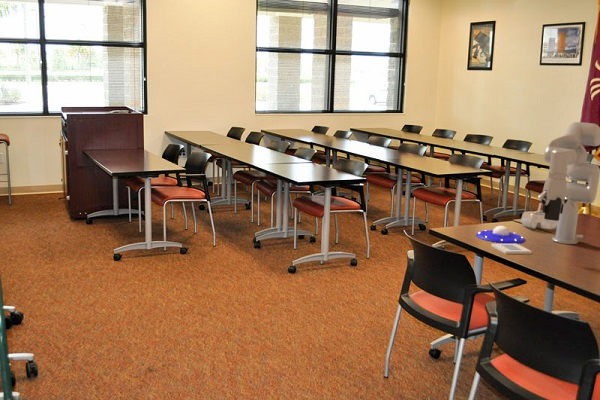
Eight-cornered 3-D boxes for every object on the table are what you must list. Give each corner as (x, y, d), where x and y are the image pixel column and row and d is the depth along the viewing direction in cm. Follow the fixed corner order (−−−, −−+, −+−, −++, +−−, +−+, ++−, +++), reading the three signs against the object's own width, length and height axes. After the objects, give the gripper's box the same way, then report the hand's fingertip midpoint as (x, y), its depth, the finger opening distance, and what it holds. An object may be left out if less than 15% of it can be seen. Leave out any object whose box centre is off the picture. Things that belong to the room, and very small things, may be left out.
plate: (516, 245, 329) (516, 243, 329) (531, 253, 316) (531, 251, 316) (491, 245, 326) (491, 243, 326) (505, 253, 313) (505, 251, 312)
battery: (559, 220, 309) (562, 196, 307) (559, 221, 306) (562, 197, 303) (544, 217, 312) (547, 194, 310) (543, 219, 309) (546, 195, 306)
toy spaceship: (476, 241, 335) (477, 228, 334) (475, 230, 359) (476, 218, 358) (527, 247, 330) (528, 233, 328) (522, 235, 354) (524, 223, 352)
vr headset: (528, 230, 365) (531, 205, 362) (518, 226, 376) (521, 201, 373) (558, 231, 368) (561, 206, 365) (547, 226, 379) (550, 202, 376)
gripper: (568, 175, 310) (563, 211, 314) (536, 174, 306) (531, 211, 310) (578, 177, 303) (573, 214, 306) (545, 177, 299) (540, 214, 303)
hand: (552, 212), depth 308 cm, fingers closed on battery, 7 cm apart
